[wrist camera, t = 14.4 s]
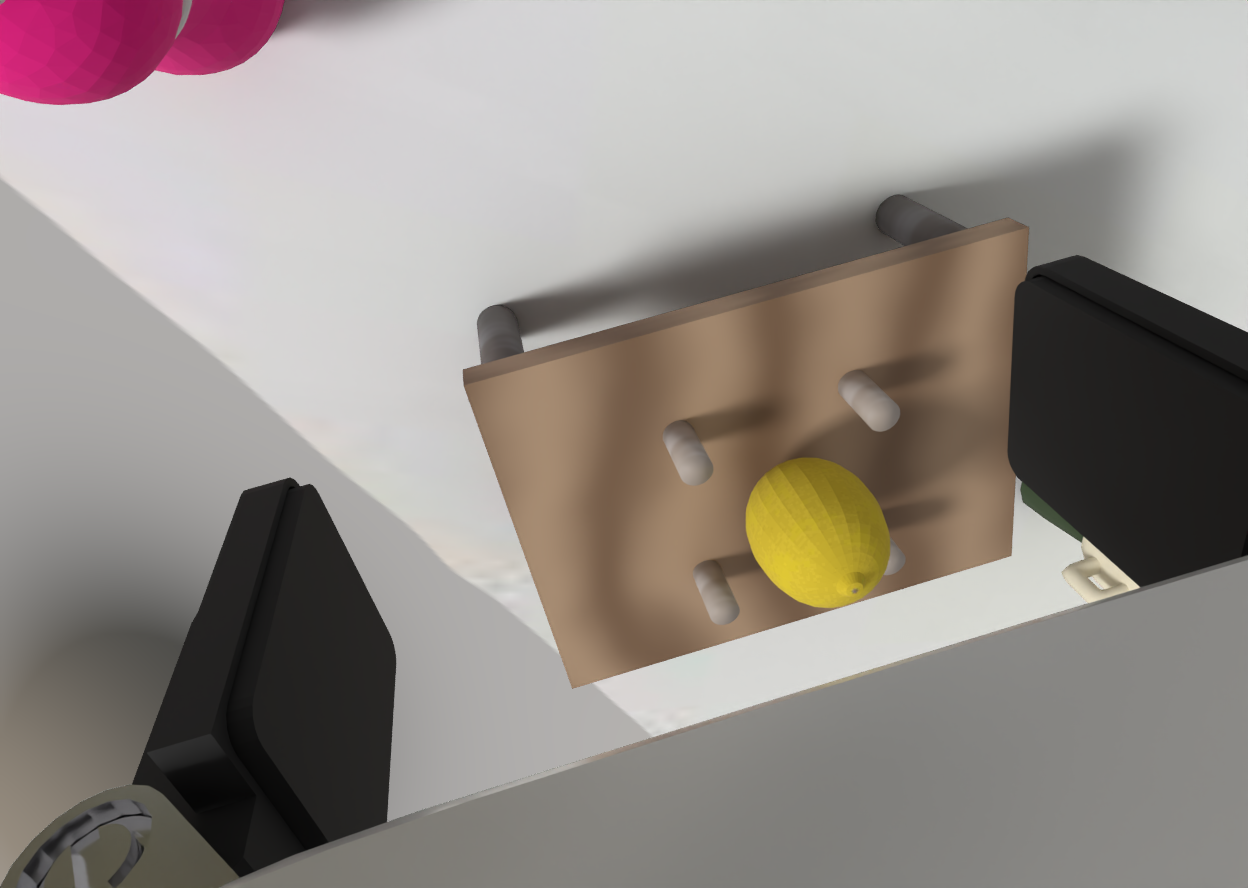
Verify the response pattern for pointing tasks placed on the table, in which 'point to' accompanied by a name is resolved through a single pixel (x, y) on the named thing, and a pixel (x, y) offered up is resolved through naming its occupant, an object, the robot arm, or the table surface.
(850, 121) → the table surface
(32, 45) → the pepper mill
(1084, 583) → the character mug
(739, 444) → the peg shelf
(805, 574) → the lemon
